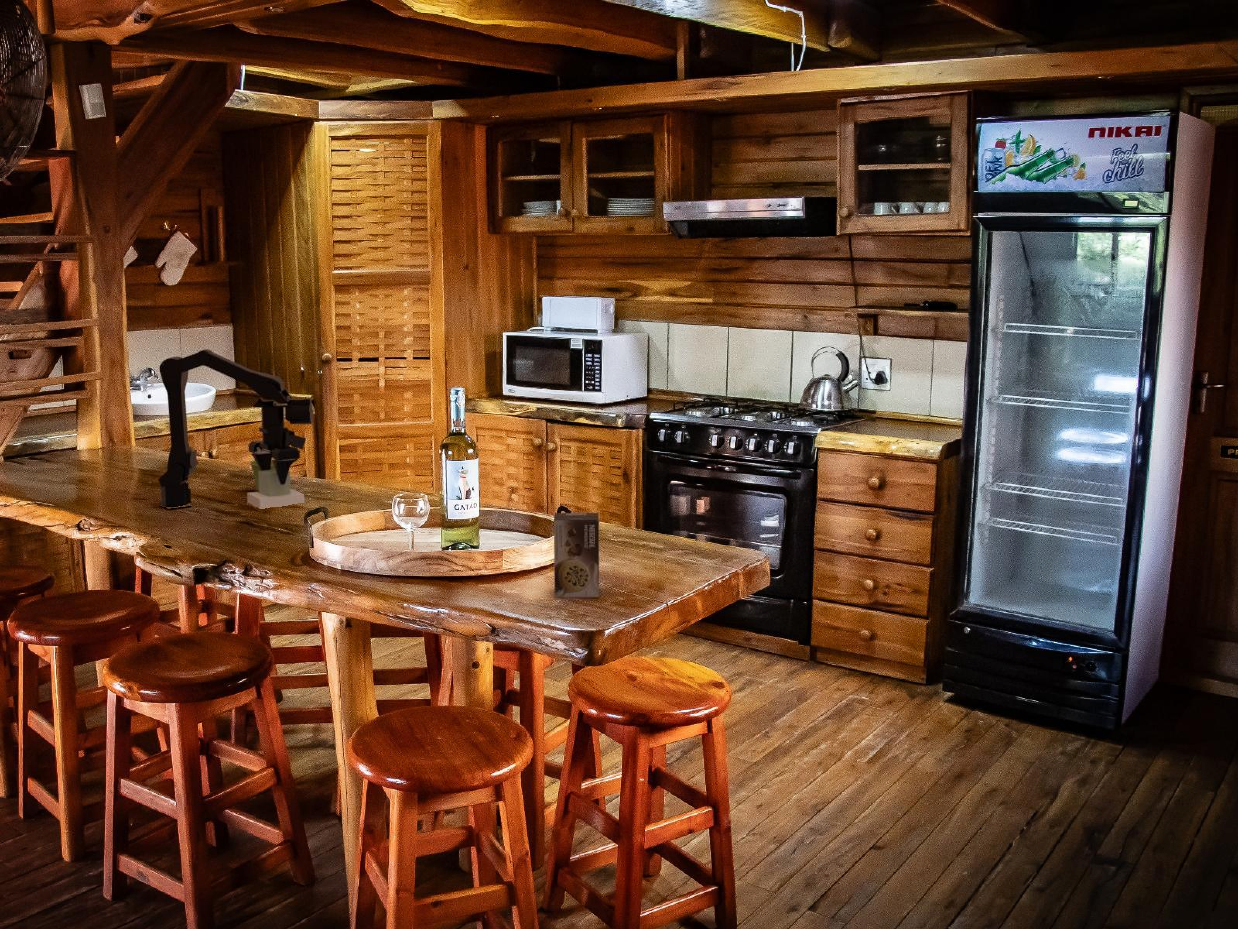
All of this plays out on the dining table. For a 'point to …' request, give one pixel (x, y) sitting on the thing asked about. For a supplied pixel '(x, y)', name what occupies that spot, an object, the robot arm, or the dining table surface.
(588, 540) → the coffee box
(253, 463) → the plant pot
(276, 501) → the plinth
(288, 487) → the sage cube
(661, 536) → the dining table surface
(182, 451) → the robot arm
